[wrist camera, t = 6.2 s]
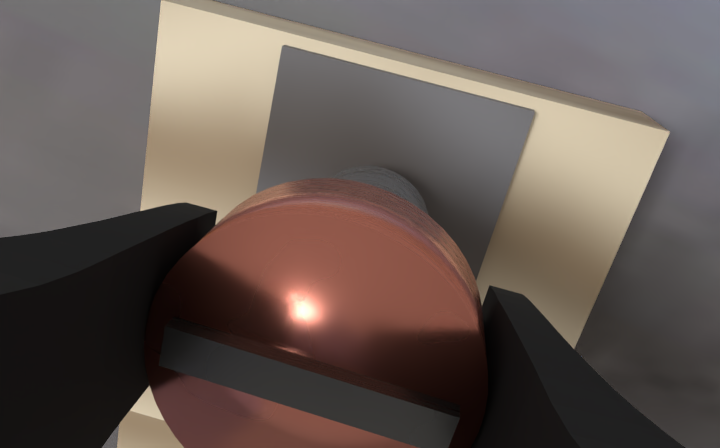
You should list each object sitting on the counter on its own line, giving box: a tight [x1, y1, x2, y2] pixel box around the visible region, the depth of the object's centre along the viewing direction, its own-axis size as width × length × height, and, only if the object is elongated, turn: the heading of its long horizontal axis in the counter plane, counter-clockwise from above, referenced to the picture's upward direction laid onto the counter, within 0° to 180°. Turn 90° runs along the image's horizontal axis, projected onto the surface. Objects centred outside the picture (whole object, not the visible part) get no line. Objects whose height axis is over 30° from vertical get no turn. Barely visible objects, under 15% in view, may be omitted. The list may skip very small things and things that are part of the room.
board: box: [117, 0, 670, 448], centre depth 19 cm, size 15×13×3 cm
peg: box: [144, 166, 488, 448], centre depth 12 cm, size 5×5×7 cm
